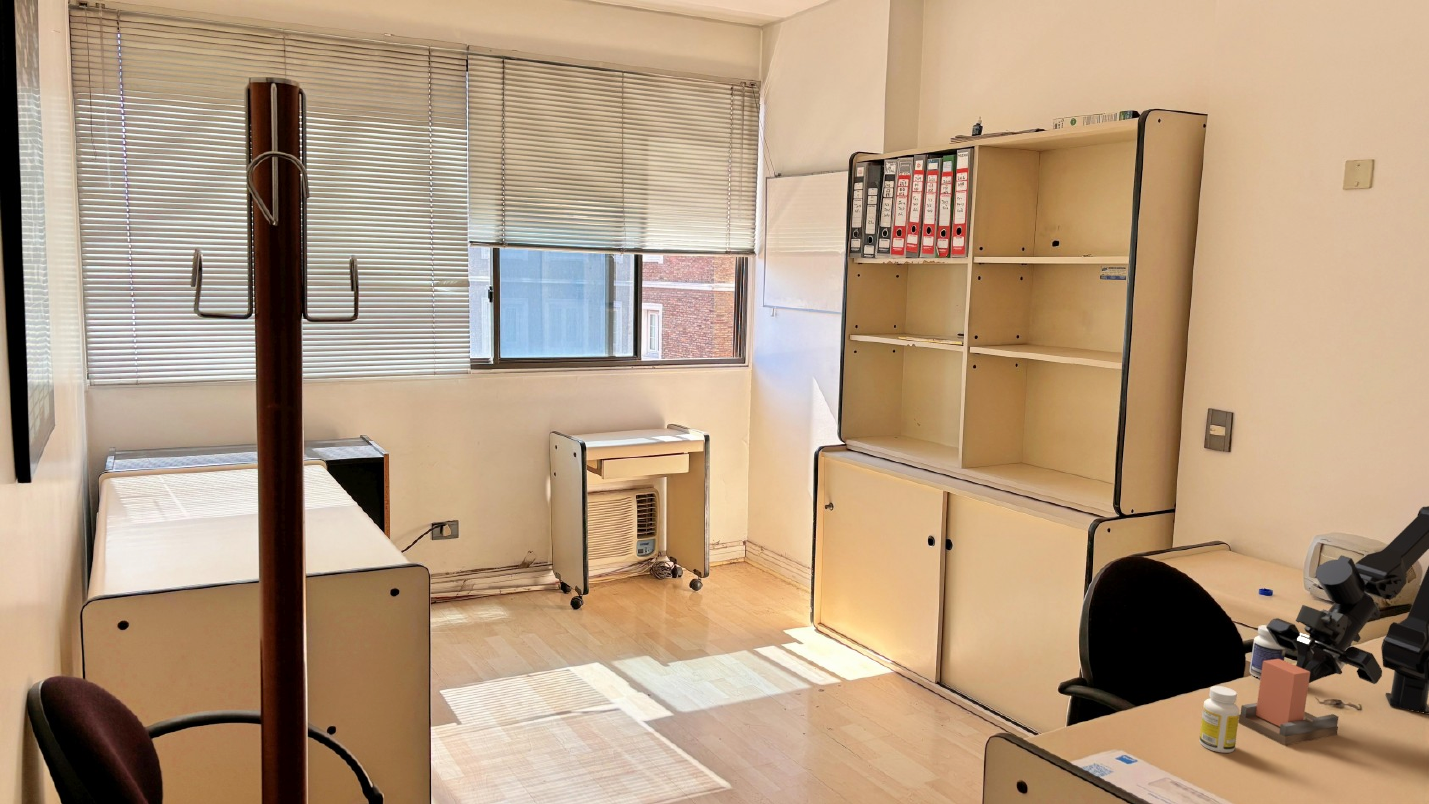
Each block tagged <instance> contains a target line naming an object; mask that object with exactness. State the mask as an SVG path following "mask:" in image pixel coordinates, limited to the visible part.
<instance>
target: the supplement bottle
mask: <svg viewBox="0 0 1429 804" xmlns="http://www.w3.org/2000/svg"><path fill="white" fill-rule="evenodd" d="M1237 695H1238V692H1237V691H1236V690H1234V689H1232V688H1229V687H1226V686H1223V685H1222V686H1221V685H1213V686H1211V687H1210V689H1209V698H1207V699H1205V700H1204V702H1203V707H1202V714H1201V715H1202V717H1201V723H1200V724H1201V725H1200V731H1199V732H1200V733H1199V743H1200V744H1201V745H1202V746H1203V747H1204V748H1206V749H1208V750H1210V751H1213V752H1216V753H1223V754H1227V753H1233V752H1234V751H1235V749H1236V742H1237V733H1238V727H1239V725H1238V724H1239V723H1238V721H1239V715H1240V707H1239V706H1238V705H1237V704H1235V703H1236V701H1237V698H1238V697H1237Z"/></svg>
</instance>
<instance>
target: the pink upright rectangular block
mask: <svg viewBox="0 0 1429 804" xmlns="http://www.w3.org/2000/svg"><path fill="white" fill-rule="evenodd" d="M1309 678H1310V671H1307V670H1305V669H1302V668H1300V667H1297V666H1296V664H1295V665H1294V664H1292V663H1289V662H1288V661H1285V660H1284V661H1283V660H1281V659H1274V660H1267V661H1263V665H1262V673H1261V679H1259V680H1260V681H1259V687H1258V688H1259V689H1258V694H1257V702H1256V703H1257V708H1256V715H1257V716H1259V717H1261V718H1263V719H1265V720H1267V721H1269V722H1271V723H1273V724H1275V725H1277V726H1279V727H1280V726H1281V724H1284V723H1289V722H1294V721H1299V720H1303V719H1304V712H1306V704H1307V697H1308V690H1309V684H1310V683H1309Z"/></svg>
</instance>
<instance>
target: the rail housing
mask: <svg viewBox="0 0 1429 804" xmlns="http://www.w3.org/2000/svg"><path fill="white" fill-rule="evenodd" d="M1256 708H1257V702H1254V703H1249V704H1242V705H1241V709H1240V713H1239V719H1238V724H1240V725H1242V726H1244V727H1246V728H1248V729H1251V730H1252V731H1255V732H1257V733H1258V734H1261V735H1263V736H1264V737H1266V738H1269V739H1271V740H1273V741H1274V742H1276V743H1278V744H1280V745H1283V746H1288V745H1293V744H1299V743H1303V742H1307V741H1314V740H1318V739H1323V738H1328V737H1333V736H1338V731H1339V730H1338V729H1339V725H1338V723H1339V716H1338V715H1336V714H1333V713H1332V714H1326V715H1321V716H1316V715H1314V714H1310V713H1309V712H1306V711H1305V712H1304V719H1303V720H1299V721H1294V722H1289V723H1284V724H1281V726H1280V727H1279V726H1277V725H1275V724H1273V723H1271V722H1269V721H1267V720H1265V719H1263V718H1261V717H1259V716H1257V715H1256Z"/></svg>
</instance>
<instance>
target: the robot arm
mask: <svg viewBox="0 0 1429 804" xmlns="http://www.w3.org/2000/svg"><path fill="white" fill-rule="evenodd" d="M1427 551H1429V505H1428V506H1422V507H1421V508H1420V509H1419V511H1418V513H1417V516H1416V517H1415V518H1414V519H1413V520H1412V521H1411V522H1410V523H1409V524H1408V525H1407V526H1406V527H1405V528H1404V529H1403V530H1401V532H1400V533H1399V534H1398V535H1397V536H1396V537H1394V539H1393V540H1392V541H1391V542H1390V543H1388V545H1386V547H1384V548H1383V549H1381V550H1380V551H1377V552H1372V553H1368V554H1366V555H1365V556H1364V557H1362V558H1361V559H1359V560H1358V561H1357V562H1355V561H1354V560H1353V558H1351V557H1348V556H1345V555H1339V556H1338V559H1331V560H1327V561H1324V562H1323V563H1322V564H1319V565H1318V566H1317V568H1316V570H1315V577H1316V579H1317V581H1318V583H1319V584H1320V586H1321V587H1322V589H1323V590H1324V593H1325V594H1326V596H1327V598H1328V599H1329V601H1331V602H1333V604H1332V605H1331V607H1330V608H1329V610H1326V609H1322V610H1320V609H1316V608H1313V607H1311V606H1308V605H1305V604H1302V606H1301V607H1300V610H1299V612H1298V615H1297V617H1296V618H1295V622H1296V623H1298V624H1299V623H1300V624H1302V625H1304V627H1303V629H1304V631H1305V633H1307V634H1308V635H1307V634H1304V633H1301V632H1300V631H1299V629H1298V628H1297V626H1296V624H1295V623H1292V622H1289V621H1287V620H1284V619H1282V618H1281V619H1280V618H1279V617H1278V618H1277V617H1276V618H1272V619H1271V620H1270V621H1269V623H1268V624H1267V626H1266V628H1267V629H1268V631H1269V632H1270V634H1271V636H1272V637H1273V639H1274V640H1275V642H1276V643H1277V644H1278V645H1279V646H1281V647H1283V648H1285V649H1286V650H1289V651H1292V652H1297V657H1296V659H1297V660H1296V664H1295V666H1297V667H1300V668H1302V669H1305V670H1307V671H1310V678H1309V684H1310V683H1313V682H1316V681H1318V680H1320V679H1323V678H1325V677H1326V678H1327V677H1329V676H1332V675H1335V674H1336V675H1342V674H1343V671H1342V669H1343V668H1344V666H1345V665H1348V666H1351V667H1355V668H1356V669H1357V670H1356V674H1357V675H1358V678H1359V679H1360V680H1364V681H1365V682H1368V683H1371V684H1373V685H1377V683H1378V682H1379V680H1380V679H1381V678H1382V677H1383V676H1382V675H1383V670H1382V668H1381V666H1380V664H1379V661H1377V659H1376V658H1375V655H1374V654H1373V653H1372V652H1369V651H1367V650H1364V649H1361V648H1360V647H1359V648H1358V647H1356V646H1350V645H1351V644H1352V643H1353V642H1356V643H1359V642H1360V640H1361V639H1362V638H1361V636H1360V634H1359V633H1361V631H1362V629H1363V628H1364V627H1365V625H1366V624H1367V623H1368V622H1369V620H1370V619H1371V618H1375V619H1377V620H1378V619H1379V618H1381V611H1380V610H1379V603H1378V602H1377V601H1375V600H1374V598H1373V597H1372V596H1374V597H1375V598H1376V597H1377V598H1380V599H1383V600H1388V601H1390V600H1393V599H1394V598H1396V597H1397V596H1398V595H1400V593H1401V592H1402V591H1403V588H1404V587H1405V585H1406V584H1407V582H1408V579H1407V577H1408V575H1407V574H1408V573H1407V572H1408V571H1409V570H1410V569H1411V567H1413V566H1414V565H1415V564H1416V563H1417V562H1418V561H1419V559H1421V557H1422V556H1423V555H1425V553H1427ZM1381 643H1382V644H1381V649H1380V650H1381V659H1382V667H1383V668H1385V669H1386V668H1387V669H1389V670H1391V671H1393V679H1392V684H1391V690H1390V692H1385V697H1386V700H1387V702H1388V705H1389V706H1390V707H1392V708H1396V709H1397V708H1398V709H1403V710H1406V711H1411V710H1413V711H1412V712H1416V711H1419V712H1418V713H1420V712H1424V713H1423V714H1425V713H1429V704H1428V700H1429V565H1428V566H1427V569H1426V571H1425V574H1424V576H1423V579H1422V580H1421V583H1420V586H1419V588H1418V591H1417V593H1416V595H1415V597H1414V600H1413V602H1412V605H1411V607H1410V610H1409V613H1408V614H1407V617H1406V618H1404V619H1403V620H1401V621H1400V622H1396V621H1392V623H1390V624H1389V627H1388V631H1387V633H1386V635H1385V637H1384V638H1383V639H1382V642H1381Z"/></svg>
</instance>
